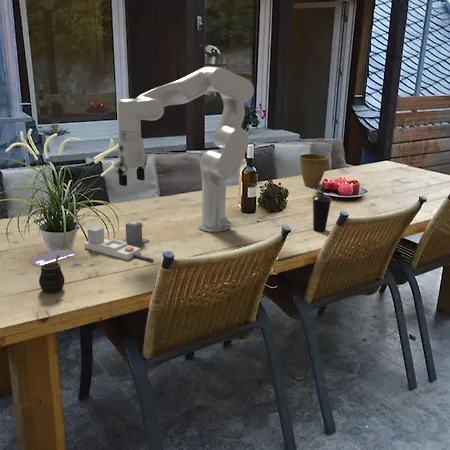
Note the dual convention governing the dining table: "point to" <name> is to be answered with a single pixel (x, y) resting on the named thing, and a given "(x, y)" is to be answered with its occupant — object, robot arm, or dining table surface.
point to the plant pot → (312, 168)
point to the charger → (133, 232)
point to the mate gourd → (51, 277)
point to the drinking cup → (320, 211)
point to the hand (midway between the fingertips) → (132, 182)
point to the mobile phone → (51, 257)
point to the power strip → (111, 245)
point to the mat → (137, 243)
